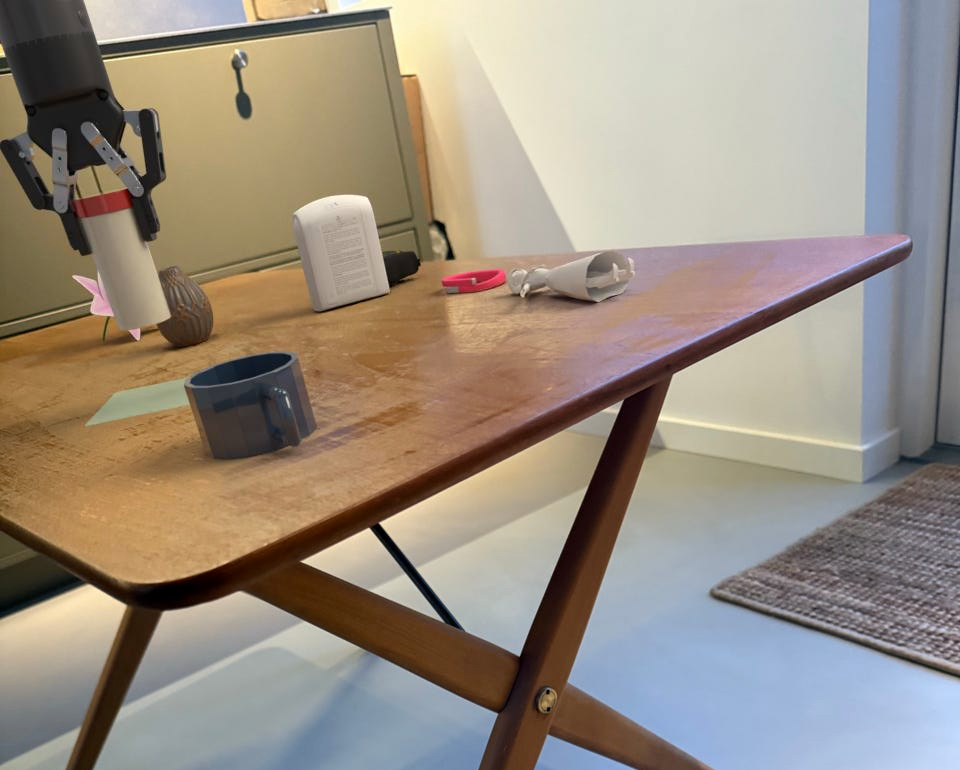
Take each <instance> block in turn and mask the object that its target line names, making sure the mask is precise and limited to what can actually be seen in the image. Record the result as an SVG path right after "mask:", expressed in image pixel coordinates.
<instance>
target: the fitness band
mask: <svg viewBox="0 0 960 770" xmlns="http://www.w3.org/2000/svg"><path fill="white" fill-rule="evenodd" d="M476 281H479V282H476ZM505 282H507V278H506V272H505V269H503V268H502V269H501V268H495V269H483V270H474V271H467V272H461V273H456V274H452V275H448V276H446V277H443V278H442V279H441V285H442V287H443V288H444V287H445V292H446V293H445V294H458V293H459V294H460V293H471V292H478V291H483V290H487V289H490V288H493V287H498V286H500V285H502V284H503V283H505Z"/></svg>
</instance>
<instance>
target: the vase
mask: <svg viewBox="0 0 960 770" xmlns="http://www.w3.org/2000/svg"><path fill="white" fill-rule="evenodd" d="M158 277H159V280H160V283H161V286H162V289H163V292H164V295H165V298H166V301H167V305H168V308H169V311H170V314H171V317H170V318H169V319H168V320H165V321H163V322H160V323H158V324H155V325H156V328H157V329H158V331H159V333H160V334H161V336H162V337H163V338H164V339H165V341H167V342H168V343H170V344H171V345H173V346H174V347H177V348H182V347H189V346H194V345H197V344H200V343H203V342H205V341H207V340H208V339H209V338H210V336H211V334H212V332H213V328H214V312H213V308H212V305H211V302H210V300H209V297H208V296H207V294H206V292H205V291H204V289H203V288H202V287H201V286H200V285H199V284H198V283H197V282H196V281H195V280H194V279H192V278H191V277H189V276H188V275H187V274H186V273H185V272H184V271H183V270H182V268H181V267H180V266H179V265H172V266H168V267H167V266H166V267H164V268H161V269H159V270H158Z"/></svg>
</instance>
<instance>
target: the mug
mask: <svg viewBox="0 0 960 770" xmlns="http://www.w3.org/2000/svg"><path fill="white" fill-rule="evenodd" d="M188 377H189V378H188ZM188 377H186V378H187V379H186V380H185V382H184V388H185V391H186V394H187V397H188V400H189V403H190V405H189V406H190V410H191V412H192V415H193V418H194V422H195V424H196V428H197V431H198V433H199V437H200V439H201V442H202V445H203V449H204V451H205V454H206V455H207V456H209V457H210V458H212V459H215V460H216V459H217V460H237V459H246V458H251V457H258V456H261V455H265V454H269V453H272V452H277V451H279V450H282V449H284V448H287V447H292V448H296V447H298V446H299V445H300V444H301V443H302V441H303V440H304V439H306V438H308V437H309V436H311V435H312V434H313V433H314V432H315V431H316V430H317V427H318V426H317V421H316V417H315V414H314V409H313V406H312V403H311V398H310V395H309V392H308V388H307V384H306V380H305V378H304V373H303V369H302V365H301V362H300V358H299V356H298V353H297V352H292V351H286V350H285V351H268V352H261V353H254V354H250V355H245V356H240V357H236V358H233V359H229V360H226V361H222V362H219V363H216V364H213V365H210V366H208V367H206V368H203V369H201V370H198V371H196V372H194V373H193V374H191V375H190V376H188Z"/></svg>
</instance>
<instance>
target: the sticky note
mask: <svg viewBox="0 0 960 770" xmlns="http://www.w3.org/2000/svg"><path fill="white" fill-rule="evenodd" d="M189 377H190V376H188V377H184V378H179V379H173V380H168V381H165V382H159V383H154V384H150V385H144V386H140V387H135V388H131V389H130V388H129V389H125V390H120V391H116V392H113V395H112V396H111V397H109V399H108V400H107V401H106V402H104V404H103V405H102V406H101V407H100V408H99V409H98V410H97V412H95V414H94V415H93V416H91V418H90V419H89V420H88V421H87V422H86V423H85V425H84V426H83V427H84V428H86V427H90V426H95V425H99V424H105V423H109V422H114V421H119V420H124V419H128V418H134V417H139V416H144V415H148V414H153V413H157V412H162V411H163V412H164V411H168V410H172V409H177V408H182V407H187V406H190V403H189V400H188V397H187V394H186V391H185V388H184V382H185V380H186V379H187V378H189Z"/></svg>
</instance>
